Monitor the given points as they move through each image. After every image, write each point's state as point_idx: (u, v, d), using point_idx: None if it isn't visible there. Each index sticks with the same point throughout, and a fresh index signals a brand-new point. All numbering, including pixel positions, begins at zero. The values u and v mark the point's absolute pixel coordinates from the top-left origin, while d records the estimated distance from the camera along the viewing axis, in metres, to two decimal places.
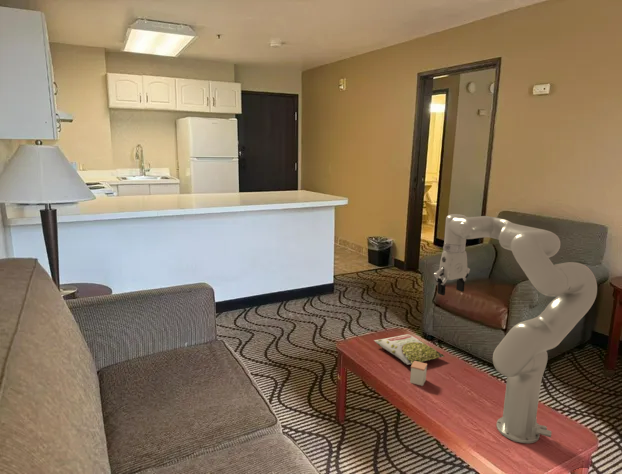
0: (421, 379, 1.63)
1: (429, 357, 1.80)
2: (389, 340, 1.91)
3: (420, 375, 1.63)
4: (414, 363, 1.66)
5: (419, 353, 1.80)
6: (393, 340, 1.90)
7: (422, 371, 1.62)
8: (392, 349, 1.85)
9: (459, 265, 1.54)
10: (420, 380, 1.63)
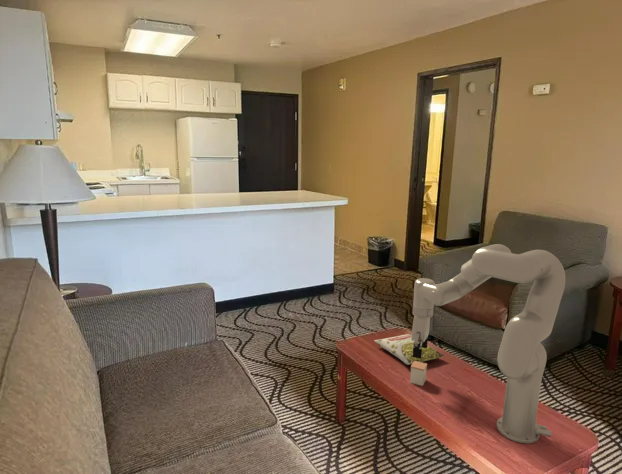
0: (421, 379, 1.63)
1: (429, 357, 1.80)
2: (389, 340, 1.91)
3: (420, 375, 1.63)
4: (414, 363, 1.66)
5: None
6: (393, 340, 1.90)
7: (422, 371, 1.62)
8: (392, 349, 1.85)
9: None
10: (420, 380, 1.63)
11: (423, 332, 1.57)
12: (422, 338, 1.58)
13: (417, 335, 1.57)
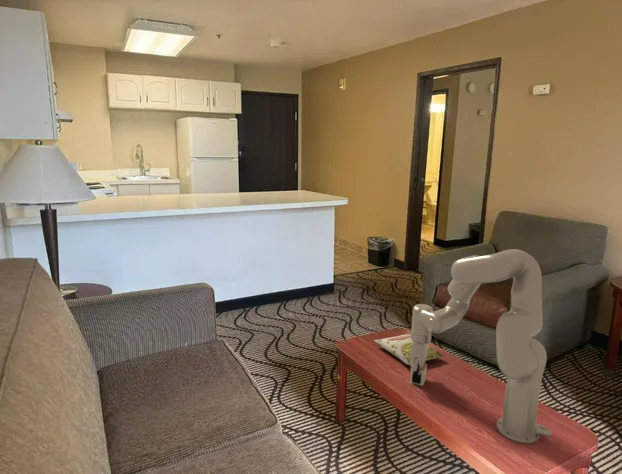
0: (421, 379, 1.63)
1: (429, 357, 1.80)
2: (389, 340, 1.91)
3: None
4: None
5: None
6: (393, 340, 1.90)
7: (422, 371, 1.62)
8: (392, 349, 1.85)
9: None
10: None
11: (421, 358, 1.59)
12: (420, 364, 1.60)
13: (415, 365, 1.59)
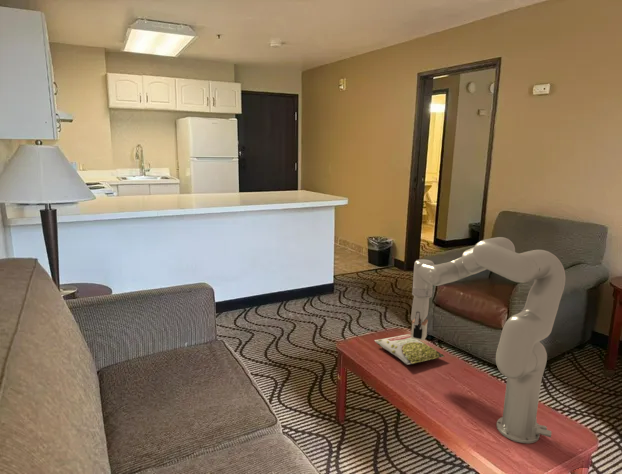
0: (422, 334, 1.64)
1: (429, 357, 1.80)
2: (389, 340, 1.91)
3: None
4: None
5: (419, 353, 1.80)
6: (393, 340, 1.90)
7: (423, 326, 1.63)
8: (392, 349, 1.85)
9: None
10: None
11: (422, 312, 1.60)
12: (421, 318, 1.60)
13: (416, 319, 1.60)
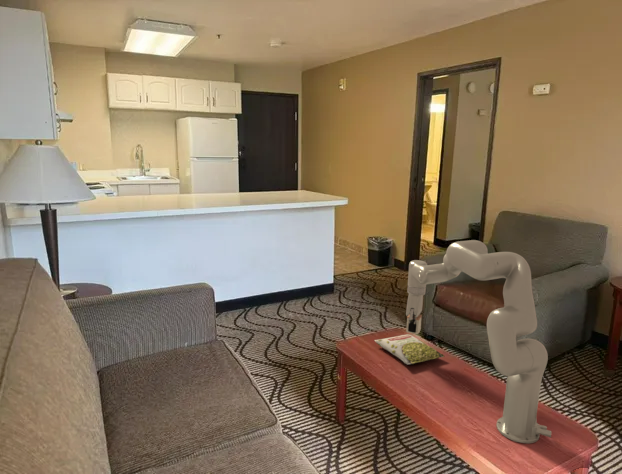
0: (416, 328, 1.80)
1: (429, 357, 1.80)
2: (389, 340, 1.91)
3: None
4: None
5: (419, 353, 1.80)
6: (393, 340, 1.90)
7: (417, 320, 1.79)
8: (392, 349, 1.85)
9: None
10: None
11: (416, 308, 1.76)
12: (415, 313, 1.76)
13: (411, 315, 1.76)
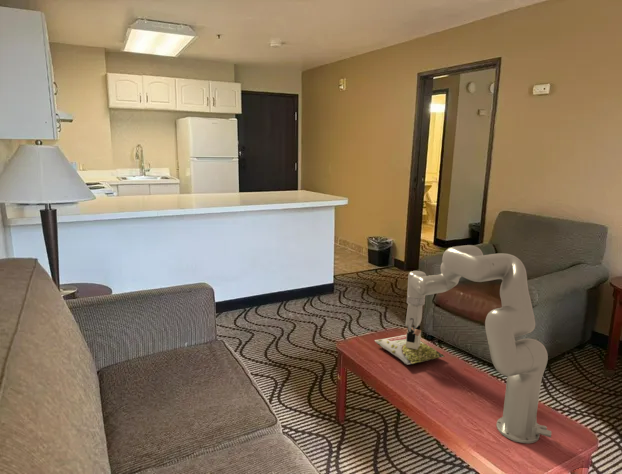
0: (416, 343, 1.81)
1: (429, 357, 1.80)
2: (389, 340, 1.91)
3: (415, 340, 1.81)
4: None
5: (419, 353, 1.80)
6: (393, 340, 1.90)
7: (416, 336, 1.80)
8: (392, 349, 1.85)
9: None
10: (415, 344, 1.81)
11: (416, 318, 1.77)
12: (415, 324, 1.77)
13: (410, 322, 1.76)
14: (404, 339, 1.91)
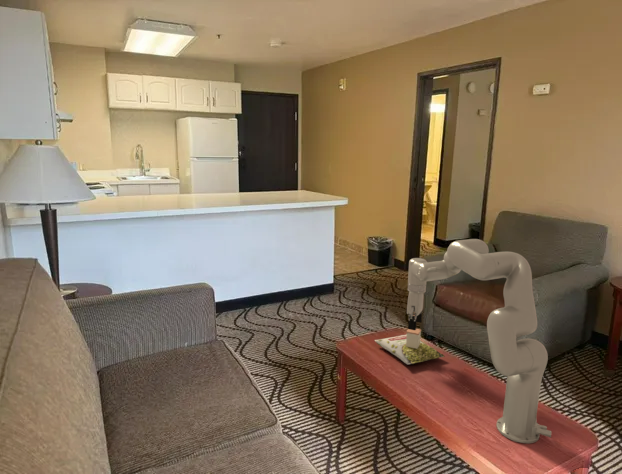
0: (416, 342, 1.82)
1: (429, 357, 1.80)
2: (389, 340, 1.91)
3: (415, 339, 1.82)
4: (409, 329, 1.85)
5: (419, 353, 1.80)
6: (393, 340, 1.91)
7: (417, 335, 1.81)
8: (392, 349, 1.85)
9: None
10: (415, 344, 1.82)
11: (417, 306, 1.75)
12: (416, 311, 1.76)
13: (412, 308, 1.75)
14: (404, 339, 1.92)
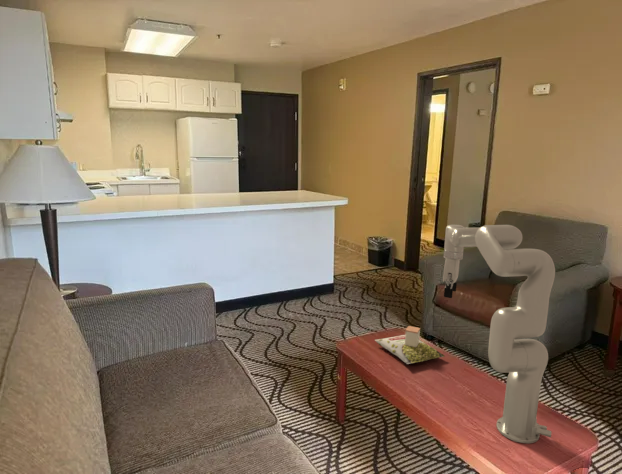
0: (415, 341, 1.83)
1: (429, 357, 1.80)
2: (390, 340, 1.91)
3: (414, 337, 1.83)
4: (408, 327, 1.87)
5: (419, 353, 1.81)
6: (394, 340, 1.91)
7: (415, 334, 1.82)
8: (392, 349, 1.85)
9: None
10: (414, 342, 1.84)
11: (454, 273, 1.71)
12: (453, 279, 1.71)
13: (449, 275, 1.71)
14: (404, 339, 1.92)
